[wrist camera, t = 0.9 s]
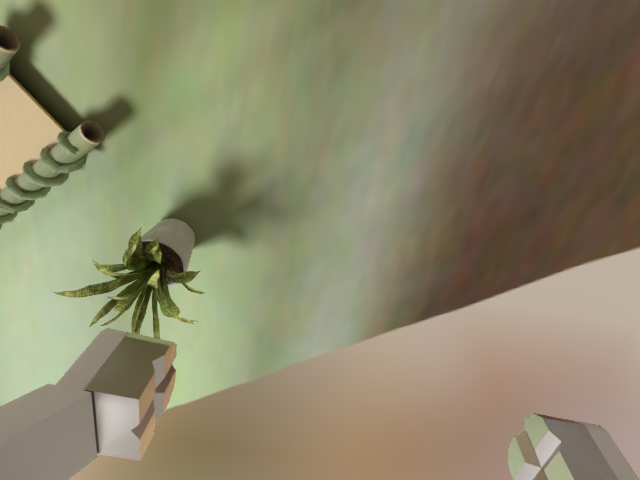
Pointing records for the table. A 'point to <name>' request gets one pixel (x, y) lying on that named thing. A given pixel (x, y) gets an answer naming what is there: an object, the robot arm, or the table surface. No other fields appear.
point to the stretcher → (33, 141)
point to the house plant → (148, 274)
